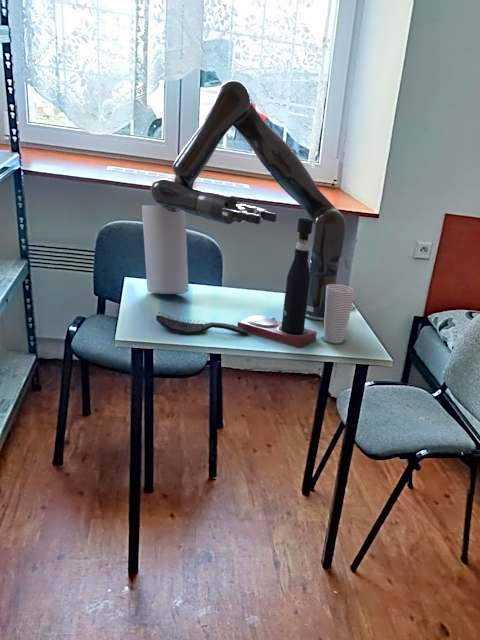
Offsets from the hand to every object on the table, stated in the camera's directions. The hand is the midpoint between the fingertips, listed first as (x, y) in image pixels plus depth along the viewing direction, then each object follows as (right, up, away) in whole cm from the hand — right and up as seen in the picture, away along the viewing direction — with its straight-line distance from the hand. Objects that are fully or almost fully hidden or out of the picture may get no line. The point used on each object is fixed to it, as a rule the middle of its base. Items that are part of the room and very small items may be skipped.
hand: (268, 219), depth 178 cm
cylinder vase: (-35, -13, +28) cm, 46 cm away
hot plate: (+1, -29, +12) cm, 31 cm away
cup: (+17, -30, +16) cm, 38 cm away
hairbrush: (-19, -30, +4) cm, 35 cm away
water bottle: (+6, -28, +10) cm, 30 cm away
